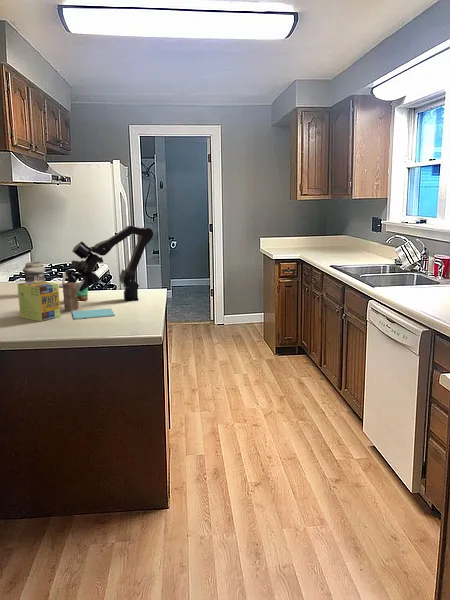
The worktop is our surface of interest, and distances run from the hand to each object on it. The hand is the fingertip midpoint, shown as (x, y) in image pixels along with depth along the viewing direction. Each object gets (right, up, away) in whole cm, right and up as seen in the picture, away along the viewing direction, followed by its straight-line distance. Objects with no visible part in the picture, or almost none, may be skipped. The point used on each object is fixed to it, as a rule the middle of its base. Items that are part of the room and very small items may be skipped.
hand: (73, 290), depth 243 cm
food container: (-1, -5, +21) cm, 22 cm away
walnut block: (-1, -10, 0) cm, 10 cm away
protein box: (-11, -13, -14) cm, 22 cm away
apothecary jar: (-31, -2, +36) cm, 48 cm away
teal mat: (+12, -11, -9) cm, 19 cm away
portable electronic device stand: (-20, +3, +60) cm, 63 cm away
